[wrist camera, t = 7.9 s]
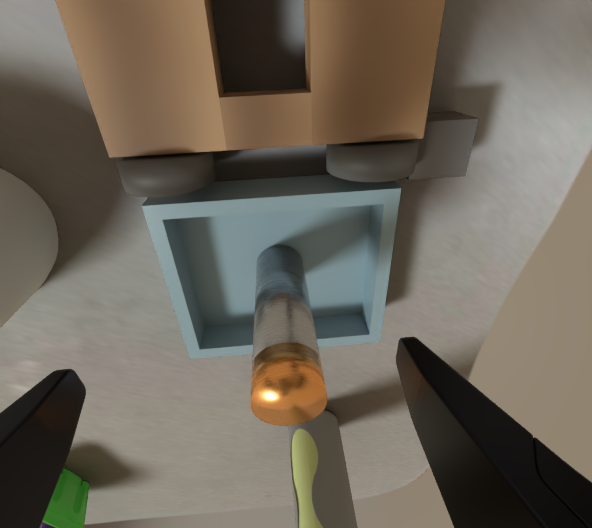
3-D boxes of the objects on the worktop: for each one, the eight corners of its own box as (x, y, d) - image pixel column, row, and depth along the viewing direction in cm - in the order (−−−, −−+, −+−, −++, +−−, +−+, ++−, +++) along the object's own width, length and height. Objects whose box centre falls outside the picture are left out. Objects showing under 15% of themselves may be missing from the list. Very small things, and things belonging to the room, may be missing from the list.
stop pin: (302, 243, 20) (327, 375, 12) (303, 281, 22) (327, 422, 14) (254, 246, 20) (246, 382, 12) (258, 285, 22) (255, 429, 14)
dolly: (505, -143, 13) (603, -223, 9) (444, 163, 19) (486, 189, 16) (50, -133, 12) (-45, -216, 8) (144, 182, 18) (114, 215, 15)
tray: (383, 170, 19) (401, 188, 17) (368, 313, 25) (380, 341, 23) (158, 185, 19) (141, 206, 16) (197, 327, 25) (189, 358, 22)
